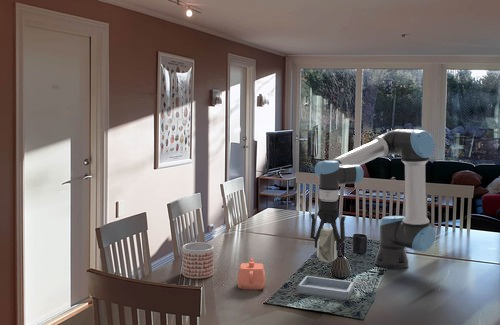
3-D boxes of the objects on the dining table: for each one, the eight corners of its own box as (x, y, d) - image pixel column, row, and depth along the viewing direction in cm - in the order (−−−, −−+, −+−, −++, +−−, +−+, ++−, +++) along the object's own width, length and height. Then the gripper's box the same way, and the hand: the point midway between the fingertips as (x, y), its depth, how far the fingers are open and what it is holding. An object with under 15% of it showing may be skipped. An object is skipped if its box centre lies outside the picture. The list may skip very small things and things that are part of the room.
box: (318, 260, 204) (318, 228, 203) (325, 258, 207) (325, 227, 206) (329, 263, 200) (329, 230, 199) (335, 260, 203) (336, 229, 202)
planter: (194, 281, 215) (194, 252, 214) (176, 273, 225) (176, 245, 224) (219, 275, 224) (220, 246, 223) (201, 267, 234) (201, 240, 233)
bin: (305, 283, 215) (306, 275, 214) (353, 289, 208) (354, 281, 207) (297, 293, 202) (297, 285, 202) (348, 300, 195) (348, 292, 195)
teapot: (236, 293, 202) (236, 268, 201) (238, 278, 220) (239, 255, 218) (265, 294, 201) (265, 268, 200) (265, 279, 219) (265, 255, 218)
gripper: (302, 199, 201) (301, 256, 203) (351, 203, 194) (349, 262, 197) (307, 196, 208) (306, 252, 210) (354, 200, 201) (352, 257, 204)
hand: (326, 256), depth 203 cm, fingers closed on box, 6 cm apart
